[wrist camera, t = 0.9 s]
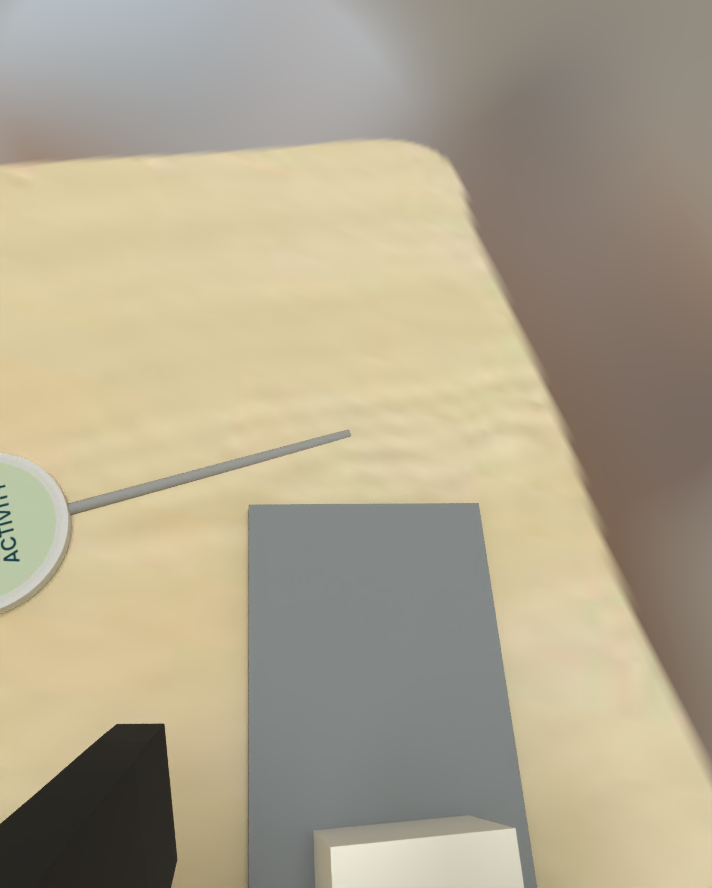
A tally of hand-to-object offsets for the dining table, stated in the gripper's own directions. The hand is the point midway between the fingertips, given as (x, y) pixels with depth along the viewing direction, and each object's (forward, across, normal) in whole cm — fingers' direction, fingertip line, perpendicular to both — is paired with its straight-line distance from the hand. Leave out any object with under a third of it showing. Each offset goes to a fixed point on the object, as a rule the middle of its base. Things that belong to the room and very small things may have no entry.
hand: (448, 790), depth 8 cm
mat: (+9, 0, +8) cm, 12 cm away
